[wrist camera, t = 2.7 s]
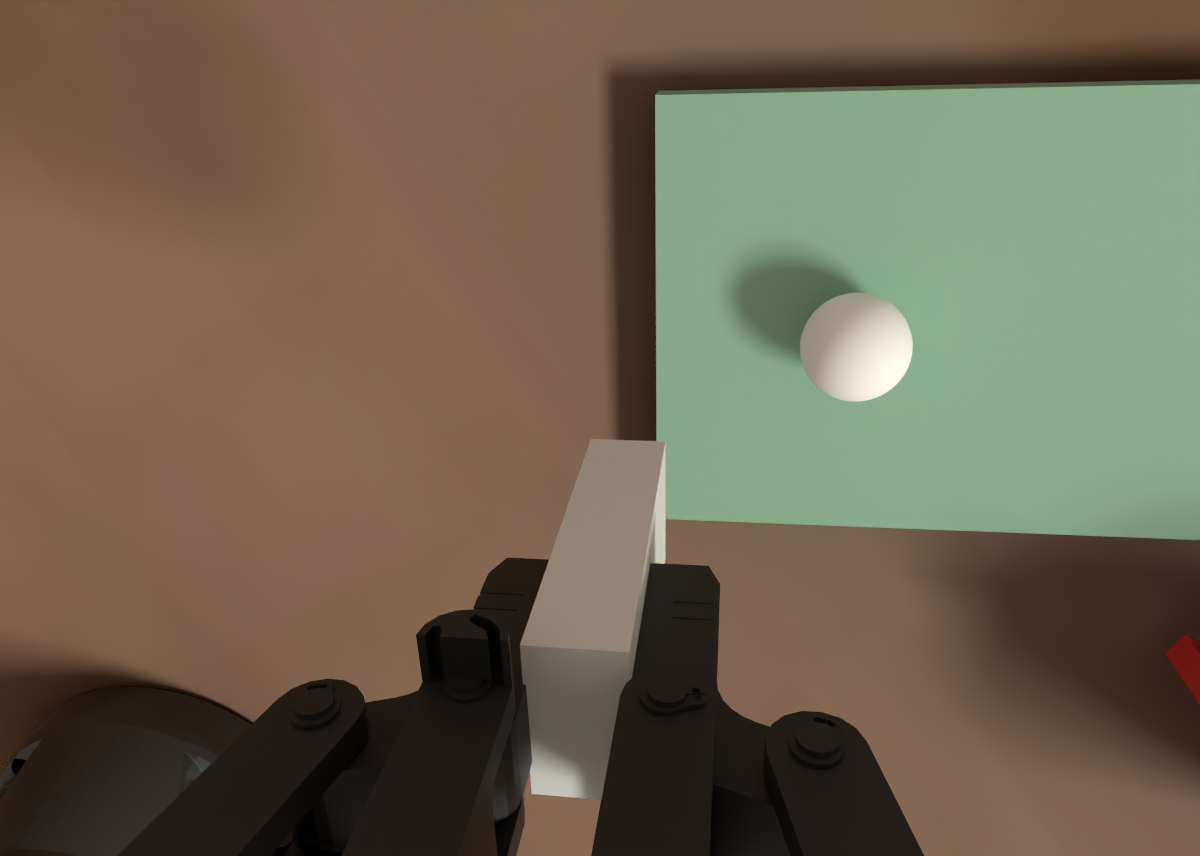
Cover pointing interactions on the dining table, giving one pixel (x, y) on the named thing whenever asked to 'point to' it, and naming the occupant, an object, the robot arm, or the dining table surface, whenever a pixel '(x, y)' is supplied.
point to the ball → (856, 347)
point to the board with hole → (935, 304)
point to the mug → (1187, 662)
